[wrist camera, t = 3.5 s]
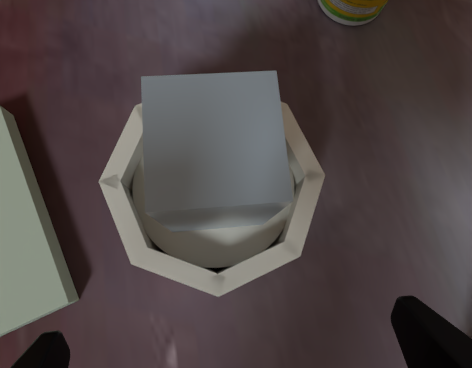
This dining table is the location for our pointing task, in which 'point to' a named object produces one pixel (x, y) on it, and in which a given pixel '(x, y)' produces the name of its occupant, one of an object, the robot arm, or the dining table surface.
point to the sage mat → (26, 240)
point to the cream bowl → (211, 240)
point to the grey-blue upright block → (214, 150)
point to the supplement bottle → (352, 10)
